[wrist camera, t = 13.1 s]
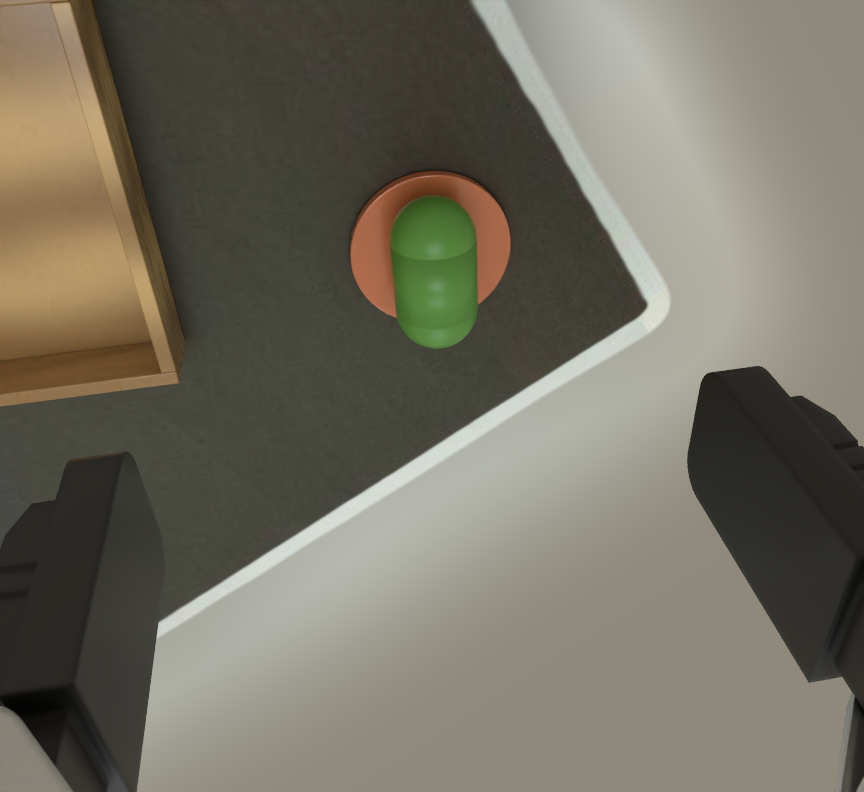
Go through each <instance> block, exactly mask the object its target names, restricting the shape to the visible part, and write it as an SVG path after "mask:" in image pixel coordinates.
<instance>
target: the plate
mask: <svg viewBox="0 0 864 792" xmlns="http://www.w3.org/2000/svg"><path fill="white" fill-rule="evenodd" d="M427 195H439V196H443V197H447V198H450V199H452V200H454V201H455V202H457V203H459V204H460V205H461V206H462V207H463V208H464V209H465V210H466V211H467V212H468V214H469V215H470V217H471V219H472V221H473V223H474V226H475V229H476V237H477V286H478V304H479V303H481V302H482V301H483V300H484V299H485V298H486V297H487V296H488V295H489V294H490V293H491V292H492V291H493V290H494V288H495V287H496V286H497V284H498V283H499V281H500V279H501V277H502V276H503V274H504V272H505V269H506V266H507V263H508V260H509V255H510V246H511V239H510V230H509V226H508V222H507V220H506V217H505V215H504V213H503V211H502V209H501V207H500V205H499V204H498V202H497V201H496V199H495V198H494V197H493V196H492V194H491V193H489V192H488V191H487V190H486V189H485V188H484V187H483V186H481V185H480V184H479V183H477V182H476V181H474V180H472V179H470V178H468V177H465V176H463V175H460V174H456V173H452V172H447V171H424V172H418V173H413V174H410V175H407V176H404V177H402V178H399V179H397V180H395V181H393V182H391V183H390V184H388V185H386V186H385V187H383V188H382V189H381V190H380V191H378V192H377V193H376V194H375V195H374V196H373V197H372V198H371V199H370V200H369V201H368V202H367V204H366V205H365V206H364V208H363V209H362V210H361V212H360V214H359V216H358V217H357V219H356V222H355V224H354V227H353V230H352V234H351V238H350V248H349V249H350V261H351V267H352V272H353V275H354V277H355V280H356V282H357V284H358V286H359V288H360V290H361V291H362V292H363V294H364V295H365V297H366V298H367V299H368V300H369V301H370V302H371V303H372V304H374V305H375V306H376V307H377V308H379V309H380V310H382V311H383V312H385V313H387V314H389V315H391V316H393V317H396V318H397V314H396V309H395V297H394V286H393V274H392V263H391V251H390V232H391V228H392V224H393V222H394V220H395V217H396V216H397V214H398V213H399V212H400V210H401V209H402V208H403V207H404V206H405V205H407V204H408V203H409V202H411V201H412V200H414V199H417V198H419V197H422V196H427Z"/></svg>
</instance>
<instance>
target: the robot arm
mask: <svg viewBox="0 0 864 792" xmlns="http://www.w3.org/2000/svg"><path fill="white" fill-rule="evenodd" d="M687 464H688V473H689V478H690V482H691V485H692V488H693V491H694V493H695V495H696V497H697V499H698V500H699V502H700V504H701V505H702V507H703V509H704V510H705V512H706V513H707V515H708V517H709V519H710V520H711V522H712V524H713V525H714V527H715V528H716V530H717V532H718V533H719V535H720V537H721V538H722V540H723V542H724V543H725V545H726V547H727V548H728V550H729V552H730V553H731V555H732V557H733V558H734V560H735V561H736V563H737V565H738V566H739V568H740V570H741V571H742V573H743V575H744V576H745V578H746V580H747V581H748V583H749V585H750V586H751V588H752V590H753V591H754V593H755V594H756V596H757V598H758V599H759V601H760V603H761V604H762V606H763V607H764V609H765V611H766V613H767V614H768V616H769V618H770V619H771V621H772V622H773V624H774V626H775V627H776V629H777V631H778V632H779V634H780V636H781V637H782V639H783V641H784V642H785V644H786V645H787V647H788V649H789V650H790V652H791V654H792V655H793V657H794V659H795V660H796V662H797V664H798V665H799V667H800V669H801V670H802V672H803V674H804V675H805V677H806V678H807V680H808V682H809V683H810V682H815V681H821V680H826V679H832V678H838V677H843V679H844V680H845V681H846V683H847V685H848V686H849V688H850V689H851V691H852V694H851V697H850V699H849V701H848V704H847V708H846V715H845V721H844V728H843V735H842V742H841V749H840V756H839V763H838V769H837V775H836V782H835V789H834V792H864V447H863V446H858V441H857V440H856V438H855V437H854V436H853V435H852V434H851V433H850V432H849V431H848V430H847V429H846V427H845V426H844V425H843V424H842V423H841V422H840V421H839V420H838V419H837V417H836V416H835V415H833V414H831V413H830V412H828V411H826V410H825V409H823V408H821V407H820V406H818V405H816V404H815V403H813V402H811V401H809V400H808V399H806V398H804V397H803V396H795V397H790V396H789V395H788V394H787V393H786V392H785V391H784V389H783V388H782V387H781V386H780V385H779V384H778V382H777V381H776V380H775V379H774V378H773V377H772V376H771V374H770V373H769V372H768V371H767V370H766V369H764V368H763V367H760V366H755V367H747V368H740V369H733V370H726V371H718V372H711V373H708V374H706V375H705V376H704V378H703V379H702V382H701V385H700V390H699V395H698V400H697V406H696V411H695V417H694V422H693V428H692V433H691V439H690V445H689V450H688V458H687ZM164 571H165V562H164V550H163V543H162V538H161V534H160V530H159V527H158V524H157V522H156V519H155V516H154V513H153V510H152V507H151V505H150V502H149V499H148V496H147V493H146V490H145V488H144V485H143V482H142V479H141V476H140V473H139V471H138V468H137V465H136V462H135V460H134V458H133V456H132V455H131V454H130V453H129V452H121V453H113V454H106V455H99V456H92V457H84V458H77V459H71V460H69V461H68V463H67V464H66V467H65V469H64V473H63V476H62V480H61V483H60V486H59V490H58V493H57V497H56V500H54V501H47V502H40V503H33V504H31V505H30V507H29V508H28V509H27V510H26V511H25V513H24V514H23V515H22V516H21V517H20V518H19V520H18V521H17V522H16V523H15V524H14V525H13V527H12V528H11V529H10V530H9V531H8V533H7V534H6V535H5V538H4V540H3V543H2V546H1V549H0V792H136V791H137V783H138V776H139V769H140V761H141V753H142V745H143V737H144V730H145V722H146V714H147V706H148V699H149V691H150V683H151V675H152V667H153V660H154V652H155V643H156V636H157V629H158V621H159V613H160V605H161V597H162V590H163V582H164Z"/></svg>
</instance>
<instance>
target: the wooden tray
mask: <svg viewBox="0 0 864 792" xmlns="http://www.w3.org/2000/svg"><path fill="white" fill-rule="evenodd" d="M184 347H185V340H184V337H183V333H182V329H181V326H180V322H179V318H178V315H177V311H176V307H175V304H174V300H173V296H172V293H171V289H170V285H169V282H168V278H167V274H166V271H165V267H164V263H163V260H162V256H161V252H160V249H159V245H158V241H157V237H156V234H155V230H154V226H153V223H152V219H151V215H150V212H149V208H148V204H147V201H146V197H145V193H144V190H143V186H142V182H141V179H140V175H139V171H138V168H137V164H136V160H135V157H134V153H133V149H132V146H131V142H130V138H129V135H128V131H127V127H126V124H125V120H124V116H123V113H122V109H121V105H120V102H119V98H118V94H117V91H116V87H115V83H114V80H113V76H112V72H111V69H110V65H109V61H108V58H107V54H106V50H105V47H104V43H103V39H102V36H101V32H100V28H99V25H98V21H97V17H96V14H95V10H94V6H93V3H92V0H0V406H7V405H15V404H23V403H30V402H38V401H46V400H53V399H61V398H69V397H76V396H84V395H92V394H99V393H107V392H114V391H122V390H130V389H137V388H145V387H153V386H160V385H168V384H176V383H179V381H180V374H181V367H182V360H183V353H184Z"/></svg>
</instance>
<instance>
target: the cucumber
mask: <svg viewBox="0 0 864 792" xmlns="http://www.w3.org/2000/svg"><path fill="white" fill-rule="evenodd" d="M390 251H391V263H392V274H393V286H394V297H395V309H396V314H397V319H398V322H399V324H400V327H401V328H402V330H403V331H404V333H405V334H406V335H407V336H408V337H409V338H410V339H411V340H413V341H414V342H416V343H417V344H419V345H422V346H425V347H428V348H445V347H449V346H452V345H454V344H456V343H458V342H459V341H461V340H462V339H463V338H464V337H465V336H466V335H467V334H468V333H469V332H470V330H471V329H472V327H473V326H474V323H475V320H476V317H477V311H478V286H477V237H476V229H475V226H474V223H473V221H472V219H471V217H470V215H469V214H468V212H467V211H466V210H465V209H464V208H463V207H462V206H461V205H460V204H459V203H457V202H455V201H454V200H452V199H450V198H447V197H443V196H439V195H427V196H422V197H419V198H417V199H414V200H412V201H411V202H409V203H408V204H407V205H405V206H404V207H403V208H402V209H401V210H400V212H399V213H398V214H397V216H396V217H395V220H394V222H393V224H392V228H391V232H390Z"/></svg>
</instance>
